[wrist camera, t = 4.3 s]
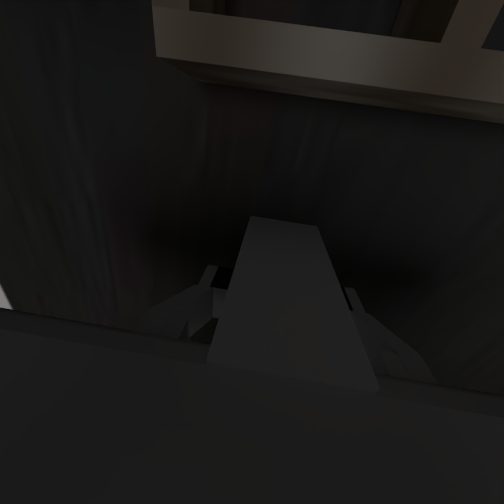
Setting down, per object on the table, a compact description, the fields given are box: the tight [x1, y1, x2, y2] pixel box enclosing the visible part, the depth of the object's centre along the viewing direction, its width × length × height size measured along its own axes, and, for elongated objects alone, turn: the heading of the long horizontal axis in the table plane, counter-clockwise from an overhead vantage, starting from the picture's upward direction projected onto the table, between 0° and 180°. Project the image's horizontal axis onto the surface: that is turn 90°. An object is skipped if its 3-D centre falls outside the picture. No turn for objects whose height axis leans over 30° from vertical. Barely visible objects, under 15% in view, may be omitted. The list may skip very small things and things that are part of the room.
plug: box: [207, 216, 380, 393], centre depth 10 cm, size 4×4×9 cm
